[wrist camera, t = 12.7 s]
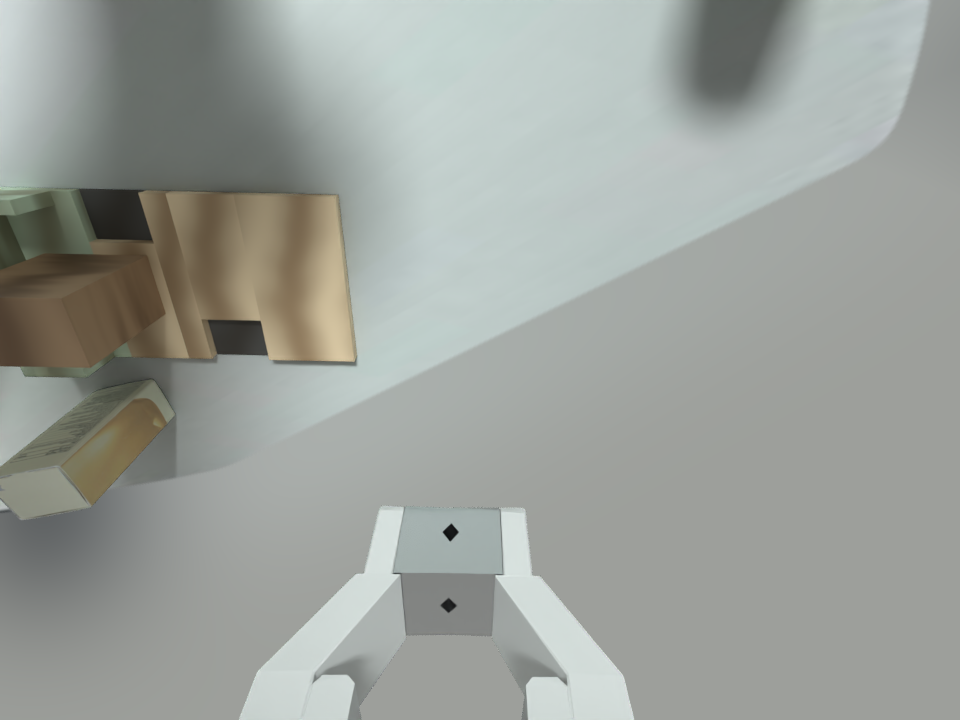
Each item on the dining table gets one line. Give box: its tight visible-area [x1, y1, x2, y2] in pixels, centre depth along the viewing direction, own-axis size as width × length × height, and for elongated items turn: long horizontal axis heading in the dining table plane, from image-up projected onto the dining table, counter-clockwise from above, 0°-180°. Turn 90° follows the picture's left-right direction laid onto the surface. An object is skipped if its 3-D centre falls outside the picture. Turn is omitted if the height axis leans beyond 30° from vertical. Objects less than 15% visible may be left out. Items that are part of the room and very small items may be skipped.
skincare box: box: [0, 379, 175, 520], centre depth 41 cm, size 6×4×12 cm
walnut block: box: [0, 253, 166, 368], centre depth 35 cm, size 8×5×9 cm, turn 89°
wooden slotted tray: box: [0, 187, 357, 378], centre depth 38 cm, size 26×14×4 cm, turn 89°
